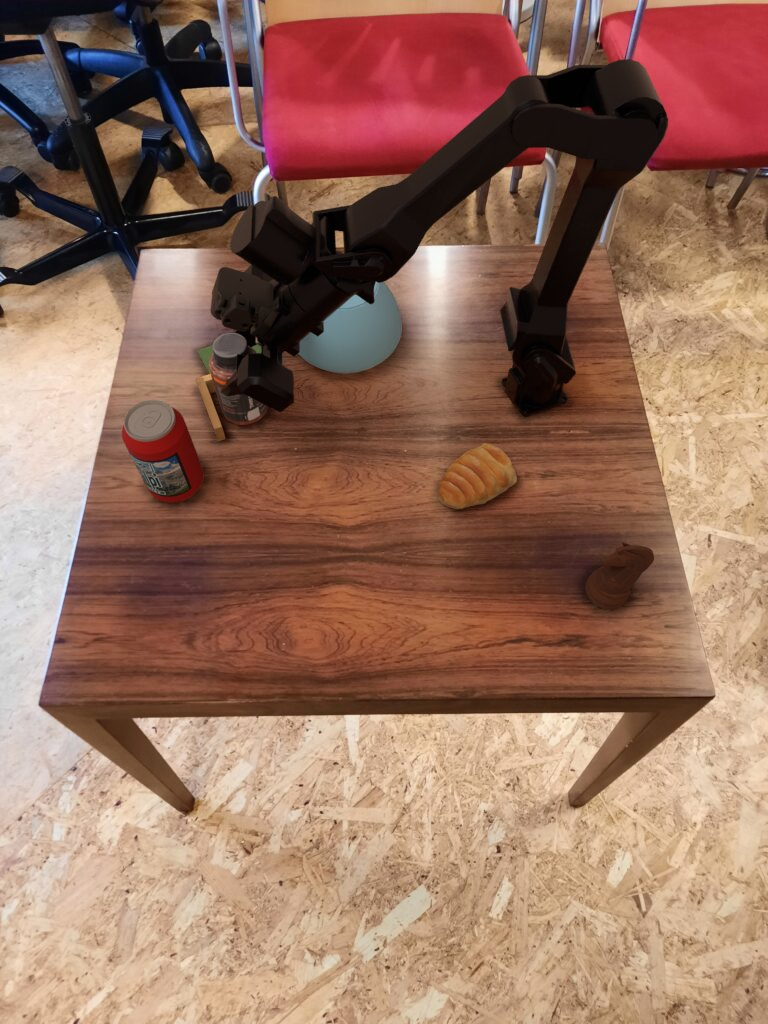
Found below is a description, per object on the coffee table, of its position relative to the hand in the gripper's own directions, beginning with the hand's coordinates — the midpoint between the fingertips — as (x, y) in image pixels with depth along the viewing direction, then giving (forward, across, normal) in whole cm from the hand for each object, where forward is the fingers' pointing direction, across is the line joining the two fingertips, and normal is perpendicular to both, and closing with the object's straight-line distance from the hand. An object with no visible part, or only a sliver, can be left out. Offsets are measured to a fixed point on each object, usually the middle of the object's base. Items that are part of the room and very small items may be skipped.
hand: (225, 373), depth 88 cm
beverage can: (+9, +11, 0) cm, 14 cm away
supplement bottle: (+4, 0, +6) cm, 7 cm away
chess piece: (-24, +28, +34) cm, 51 cm away
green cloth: (+5, -9, +4) cm, 11 cm away
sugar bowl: (-6, -11, +15) cm, 20 cm away
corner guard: (+4, -1, +6) cm, 7 cm away
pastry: (-16, +14, +26) cm, 33 cm away
